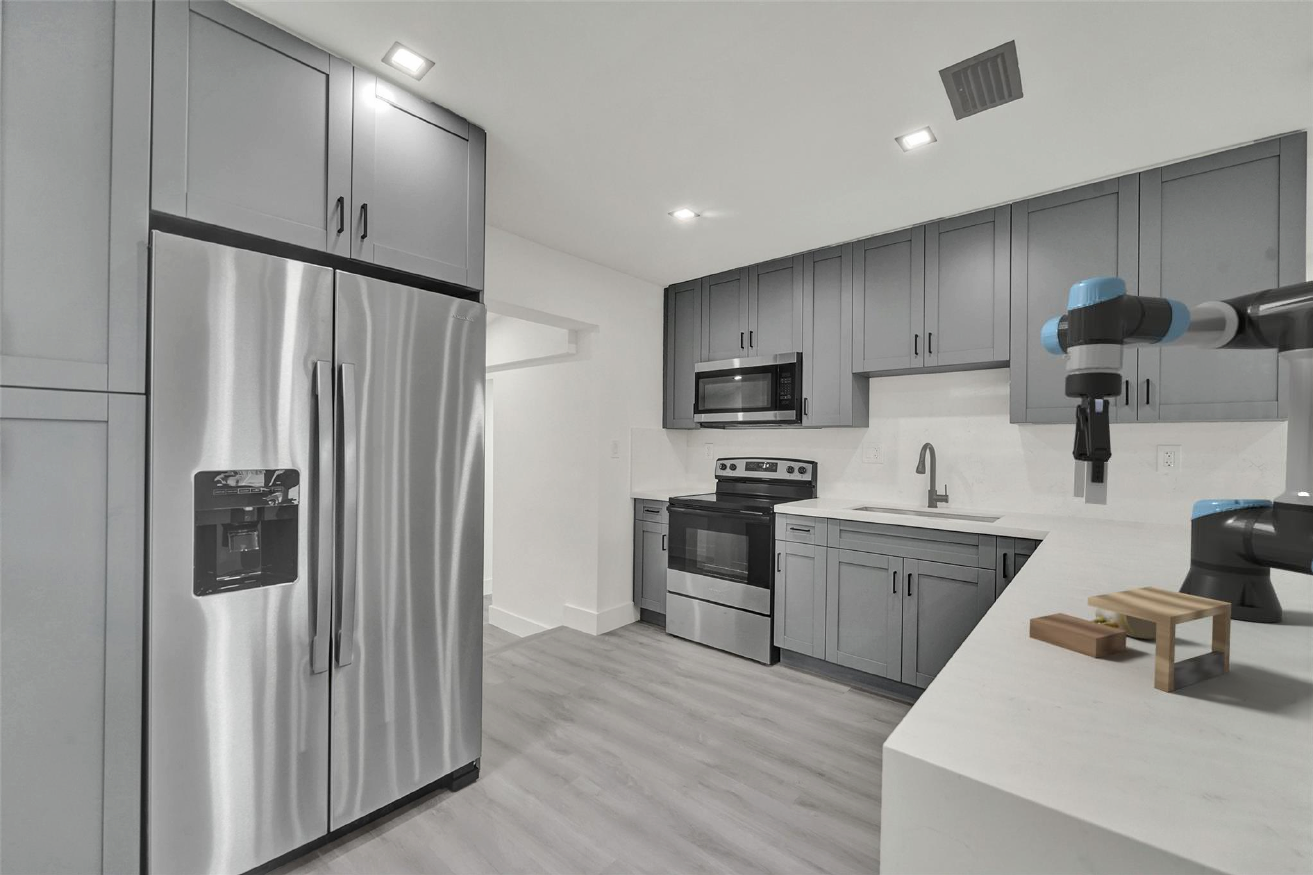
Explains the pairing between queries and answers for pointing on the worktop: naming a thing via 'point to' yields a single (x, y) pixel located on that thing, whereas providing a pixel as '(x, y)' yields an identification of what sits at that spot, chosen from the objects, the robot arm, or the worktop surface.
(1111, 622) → the mug
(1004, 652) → the worktop surface
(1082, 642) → the slab
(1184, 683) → the shelf
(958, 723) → the worktop surface
